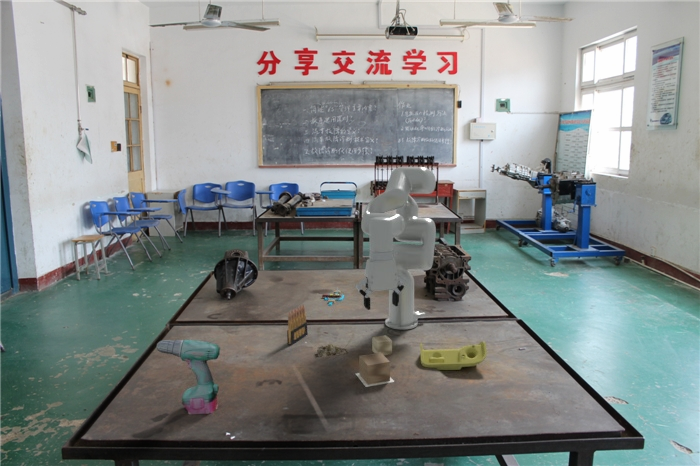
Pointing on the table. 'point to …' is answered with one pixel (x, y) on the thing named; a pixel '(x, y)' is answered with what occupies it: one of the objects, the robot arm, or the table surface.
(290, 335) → the ammunition clip
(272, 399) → the table surface
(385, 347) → the maple block
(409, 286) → the robot arm
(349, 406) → the table surface
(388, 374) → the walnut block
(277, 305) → the table surface
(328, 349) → the mineral rock
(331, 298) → the gear mechanism
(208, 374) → the power drill
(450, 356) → the plastic component
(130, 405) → the table surface
